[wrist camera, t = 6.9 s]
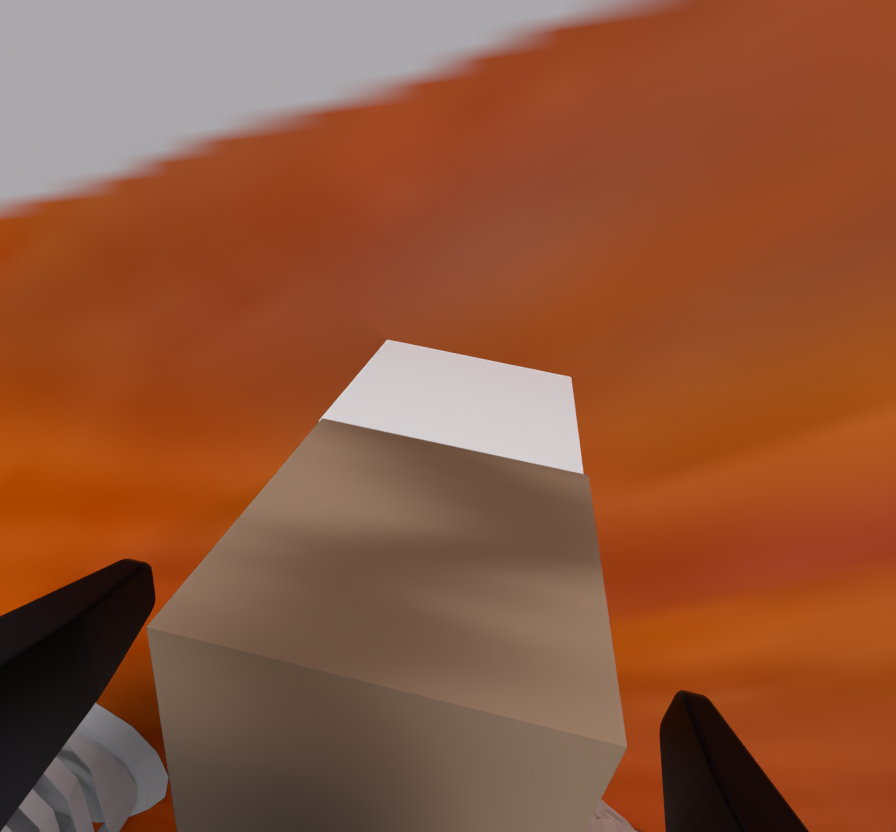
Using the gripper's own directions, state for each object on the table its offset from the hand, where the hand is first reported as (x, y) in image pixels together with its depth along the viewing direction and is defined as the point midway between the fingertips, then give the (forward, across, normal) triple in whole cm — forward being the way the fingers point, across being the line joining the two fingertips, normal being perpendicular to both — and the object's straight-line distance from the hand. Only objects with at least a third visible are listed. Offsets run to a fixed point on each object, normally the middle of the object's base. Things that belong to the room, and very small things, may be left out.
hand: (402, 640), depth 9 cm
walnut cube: (+2, 0, 0) cm, 2 cm away
